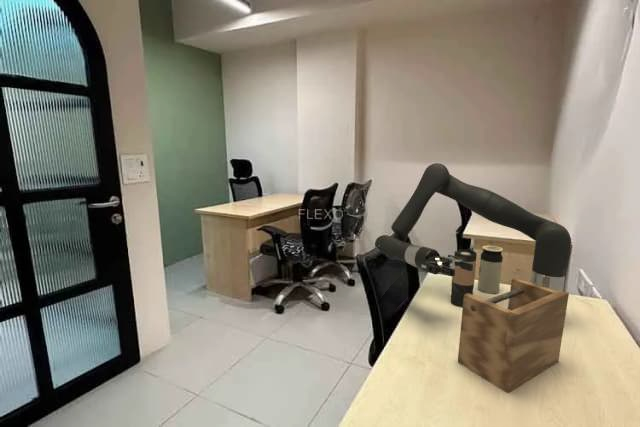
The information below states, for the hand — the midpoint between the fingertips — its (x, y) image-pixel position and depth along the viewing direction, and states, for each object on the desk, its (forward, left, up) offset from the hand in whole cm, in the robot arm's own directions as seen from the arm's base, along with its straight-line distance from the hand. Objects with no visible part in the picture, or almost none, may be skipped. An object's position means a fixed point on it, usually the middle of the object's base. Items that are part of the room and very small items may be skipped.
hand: (463, 270), depth 103 cm
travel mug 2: (-37, -23, -21) cm, 49 cm away
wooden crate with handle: (-2, +15, -21) cm, 26 cm away
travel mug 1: (-17, -17, -21) cm, 32 cm away
